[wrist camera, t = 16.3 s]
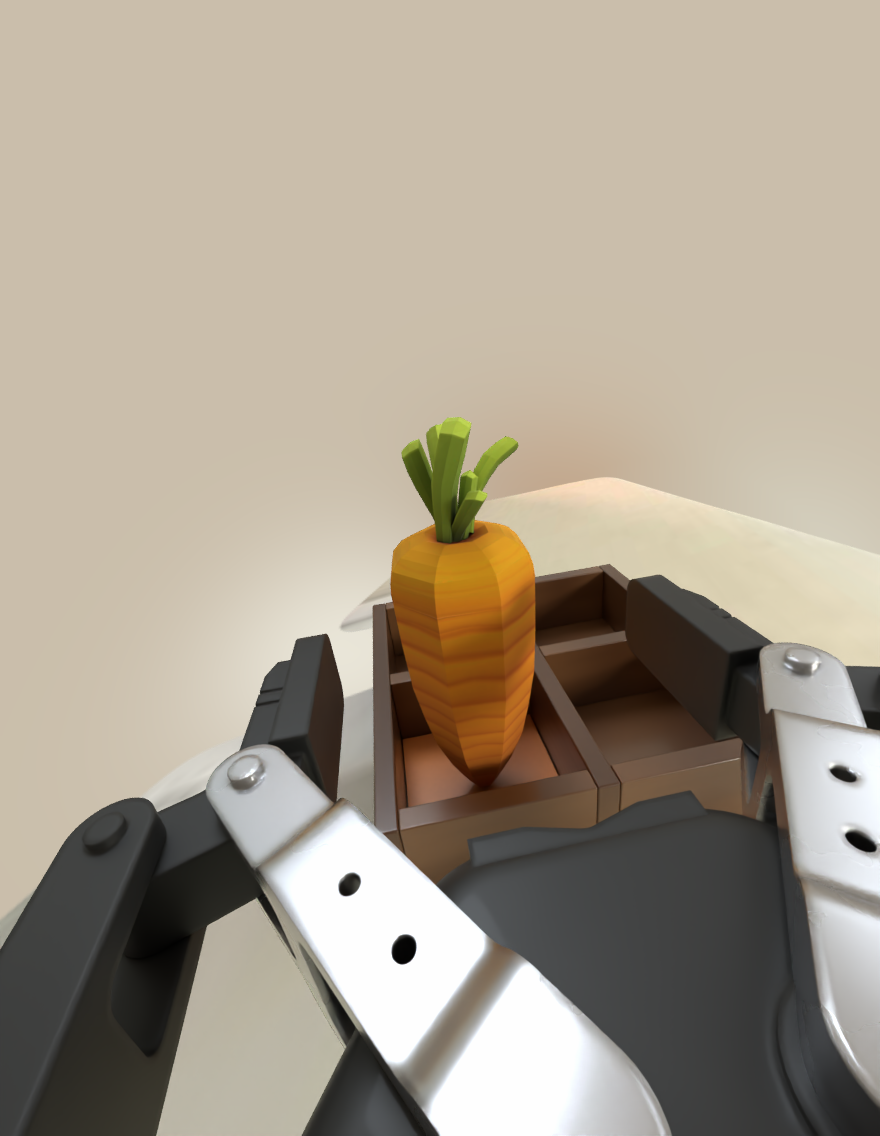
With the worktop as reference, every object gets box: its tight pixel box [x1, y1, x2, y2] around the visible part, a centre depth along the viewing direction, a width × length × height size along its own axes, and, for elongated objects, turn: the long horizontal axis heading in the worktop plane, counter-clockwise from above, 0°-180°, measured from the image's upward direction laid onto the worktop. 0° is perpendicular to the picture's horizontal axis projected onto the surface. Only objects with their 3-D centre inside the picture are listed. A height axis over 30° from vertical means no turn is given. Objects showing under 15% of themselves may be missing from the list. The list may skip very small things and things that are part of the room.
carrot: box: [390, 417, 535, 787], centre depth 16 cm, size 5×5×15 cm
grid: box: [373, 564, 742, 885], centre depth 23 cm, size 15×15×4 cm
